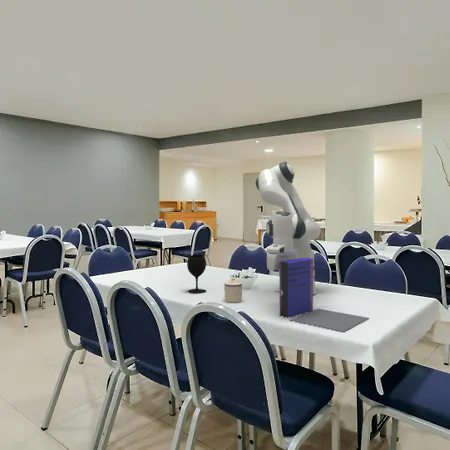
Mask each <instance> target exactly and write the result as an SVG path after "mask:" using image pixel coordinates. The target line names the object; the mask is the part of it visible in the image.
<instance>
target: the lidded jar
mask: <svg viewBox="0 0 450 450" xmlns="http://www.w3.org/2000/svg"><path fill="white" fill-rule="evenodd" d="M223 285H224V287H223V289H224V302H226V303H231V304H232V303H233V304H235V303H241V302H242V301H243V282H242V281H239V280H238V279H236V278H235V277H231V278H230V279H229V280H228V281H225V282H224V284H223Z"/></svg>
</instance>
